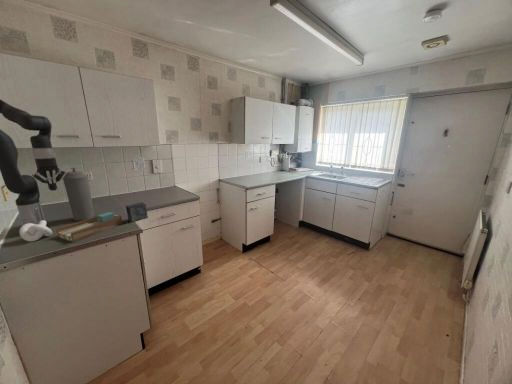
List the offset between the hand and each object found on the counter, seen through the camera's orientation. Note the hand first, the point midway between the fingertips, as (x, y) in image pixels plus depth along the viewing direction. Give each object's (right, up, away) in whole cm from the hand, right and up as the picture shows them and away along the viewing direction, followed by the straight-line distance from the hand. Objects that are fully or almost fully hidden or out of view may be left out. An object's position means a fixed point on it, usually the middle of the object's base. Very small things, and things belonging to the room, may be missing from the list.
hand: (53, 190), depth 109 cm
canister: (-11, -19, +33) cm, 40 cm away
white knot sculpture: (-13, -27, +6) cm, 30 cm away
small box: (+26, -20, +32) cm, 46 cm away
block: (+12, -19, +22) cm, 32 cm away
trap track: (+8, -24, +16) cm, 30 cm away
